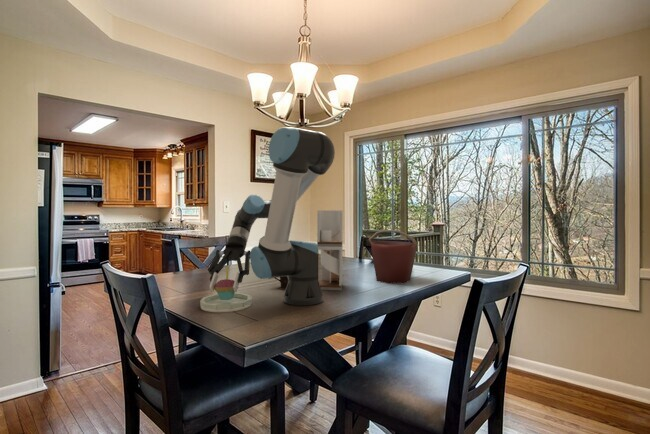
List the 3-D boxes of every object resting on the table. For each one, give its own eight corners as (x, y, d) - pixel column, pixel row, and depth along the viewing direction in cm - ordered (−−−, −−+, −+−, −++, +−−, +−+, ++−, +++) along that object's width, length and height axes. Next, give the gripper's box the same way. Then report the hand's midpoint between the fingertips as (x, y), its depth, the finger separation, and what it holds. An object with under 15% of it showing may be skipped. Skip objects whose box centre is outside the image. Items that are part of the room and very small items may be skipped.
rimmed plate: (260, 301, 136) (260, 295, 136) (232, 314, 119) (232, 307, 119) (221, 297, 142) (221, 291, 142) (189, 309, 125) (189, 302, 125)
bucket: (359, 279, 180) (360, 230, 179) (386, 273, 195) (386, 228, 194) (400, 287, 162) (400, 232, 161) (426, 280, 177) (426, 230, 176)
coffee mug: (298, 284, 166) (298, 263, 166) (295, 289, 157) (295, 266, 157) (274, 284, 167) (274, 263, 167) (270, 288, 158) (269, 266, 158)
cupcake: (217, 296, 134) (217, 264, 134) (240, 295, 135) (239, 264, 135) (212, 301, 126) (211, 268, 125) (236, 301, 126) (236, 268, 126)
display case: (319, 284, 167) (319, 210, 166) (342, 284, 166) (342, 210, 165) (317, 289, 156) (317, 210, 155) (341, 290, 155) (341, 210, 154)
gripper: (264, 246, 144) (253, 295, 129) (215, 246, 146) (198, 294, 131) (261, 234, 139) (249, 284, 123) (210, 234, 141) (191, 283, 125)
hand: (223, 289), depth 127 cm, fingers closed on cupcake, 8 cm apart
